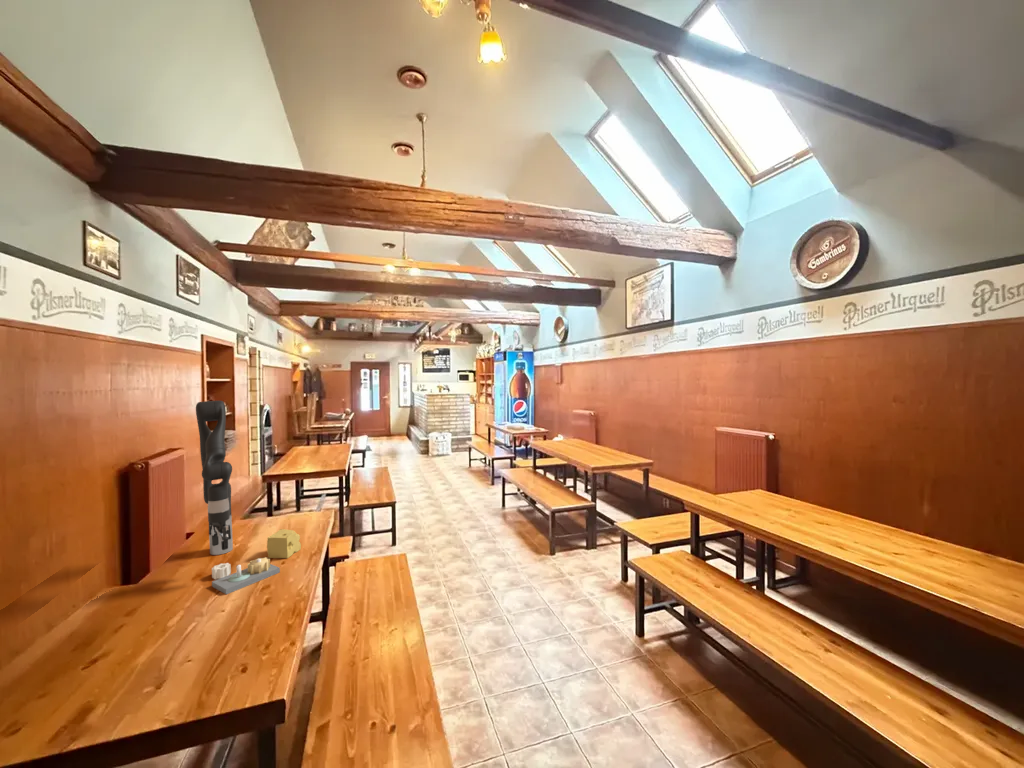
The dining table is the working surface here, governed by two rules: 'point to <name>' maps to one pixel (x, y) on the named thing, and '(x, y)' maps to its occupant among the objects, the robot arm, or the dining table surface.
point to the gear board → (246, 575)
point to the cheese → (283, 544)
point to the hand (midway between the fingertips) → (220, 547)
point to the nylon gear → (221, 571)
